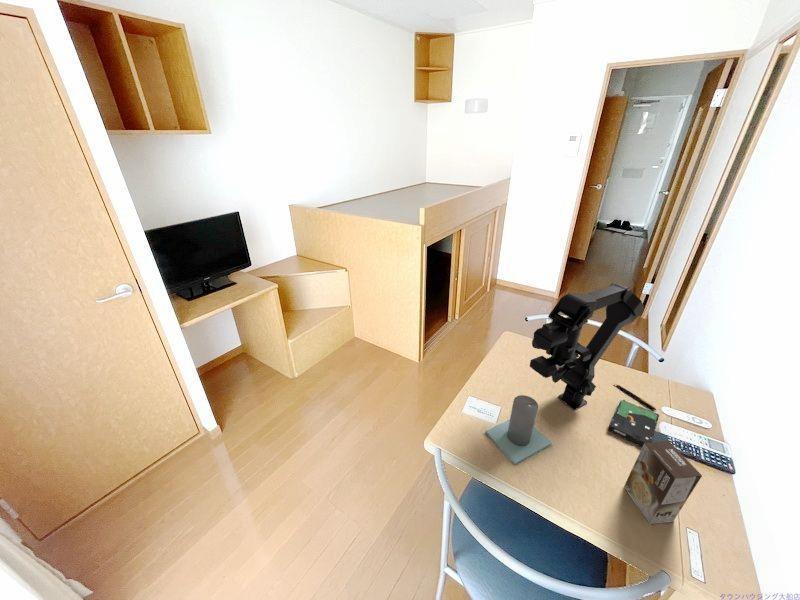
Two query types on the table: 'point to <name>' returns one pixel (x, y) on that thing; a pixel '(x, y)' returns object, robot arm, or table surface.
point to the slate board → (515, 451)
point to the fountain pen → (636, 397)
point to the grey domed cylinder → (522, 420)
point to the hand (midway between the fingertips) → (554, 381)
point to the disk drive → (634, 423)
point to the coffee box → (661, 481)
